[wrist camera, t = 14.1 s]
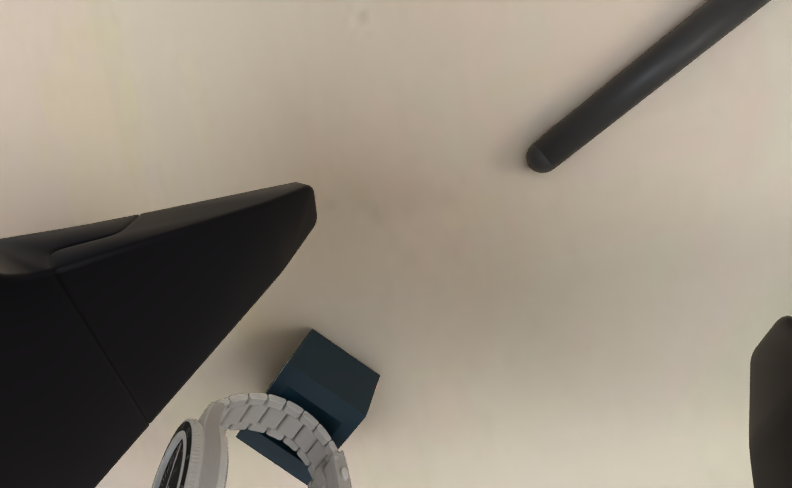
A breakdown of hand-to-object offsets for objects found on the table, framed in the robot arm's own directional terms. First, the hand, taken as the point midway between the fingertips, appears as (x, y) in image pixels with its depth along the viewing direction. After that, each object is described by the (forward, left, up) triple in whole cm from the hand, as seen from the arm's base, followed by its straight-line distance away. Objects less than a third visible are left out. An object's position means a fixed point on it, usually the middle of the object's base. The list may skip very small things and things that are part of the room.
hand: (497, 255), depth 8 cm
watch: (-11, -9, -10) cm, 17 cm away
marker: (+10, +6, -8) cm, 15 cm away
